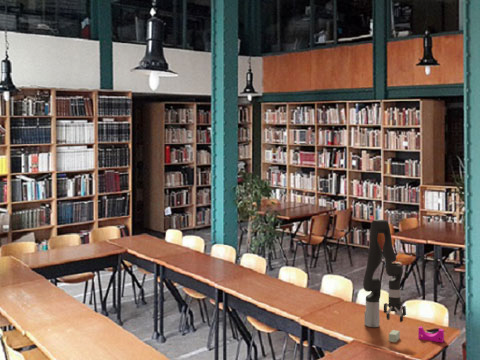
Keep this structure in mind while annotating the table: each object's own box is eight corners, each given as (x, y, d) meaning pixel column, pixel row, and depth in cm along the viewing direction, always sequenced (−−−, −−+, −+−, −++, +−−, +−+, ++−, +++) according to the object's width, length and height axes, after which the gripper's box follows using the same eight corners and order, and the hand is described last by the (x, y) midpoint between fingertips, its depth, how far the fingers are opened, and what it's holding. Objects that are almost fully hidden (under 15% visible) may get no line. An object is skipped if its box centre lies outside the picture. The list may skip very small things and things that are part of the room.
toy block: (444, 339, 352) (444, 328, 352) (442, 342, 347) (443, 331, 346) (419, 336, 359) (420, 325, 359) (418, 339, 353) (418, 327, 353)
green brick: (388, 341, 349) (388, 333, 349) (392, 337, 357) (392, 329, 357) (395, 342, 347) (395, 334, 347) (399, 338, 355) (399, 331, 355)
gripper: (381, 295, 353) (381, 320, 353) (402, 298, 344) (403, 324, 344) (386, 293, 358) (386, 317, 359) (407, 296, 349) (407, 321, 350)
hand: (394, 320), depth 351 cm, fingers open, 8 cm apart
